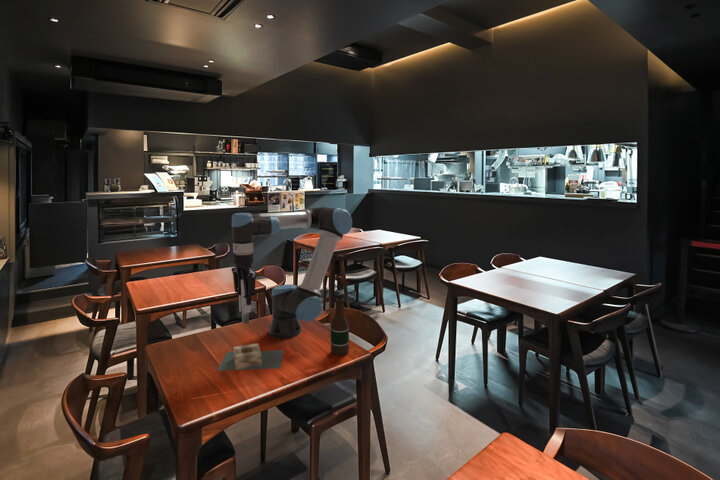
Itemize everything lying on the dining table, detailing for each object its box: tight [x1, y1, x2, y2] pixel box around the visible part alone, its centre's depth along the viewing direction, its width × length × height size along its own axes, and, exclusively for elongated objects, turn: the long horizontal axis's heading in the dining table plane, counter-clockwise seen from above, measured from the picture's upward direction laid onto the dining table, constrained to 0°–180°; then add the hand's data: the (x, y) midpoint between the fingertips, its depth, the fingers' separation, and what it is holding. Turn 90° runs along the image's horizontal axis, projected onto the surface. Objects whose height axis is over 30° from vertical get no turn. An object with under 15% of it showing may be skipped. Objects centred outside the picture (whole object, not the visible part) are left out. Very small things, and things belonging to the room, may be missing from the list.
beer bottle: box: [330, 297, 350, 357], centre depth 167 cm, size 8×8×24 cm
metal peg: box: [241, 278, 250, 325], centre depth 155 cm, size 3×3×18 cm
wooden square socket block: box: [232, 343, 262, 371], centre depth 159 cm, size 10×10×5 cm
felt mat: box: [216, 349, 285, 372], centre depth 161 cm, size 24×16×1 cm, turn 95°
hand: (245, 311), depth 156 cm, fingers closed on metal peg, 2 cm apart
